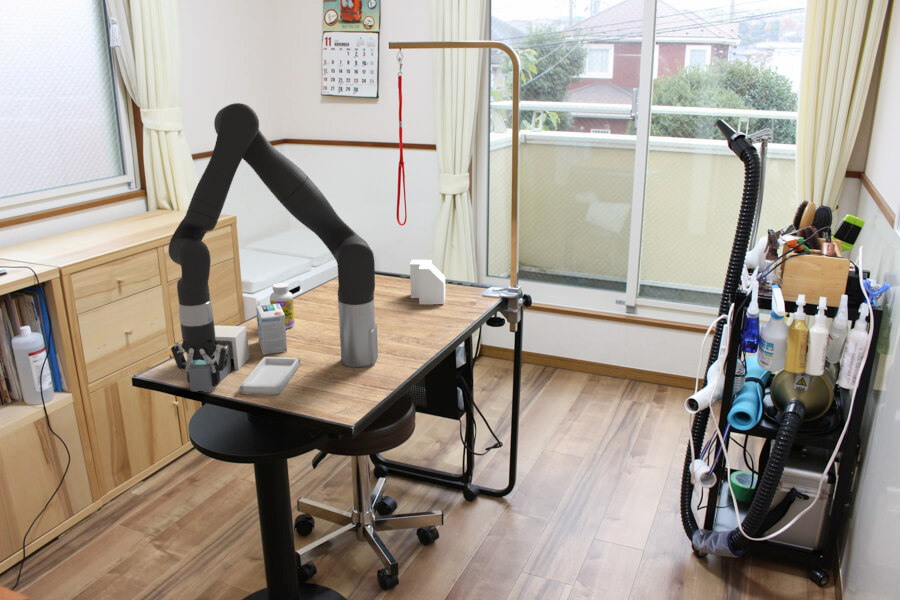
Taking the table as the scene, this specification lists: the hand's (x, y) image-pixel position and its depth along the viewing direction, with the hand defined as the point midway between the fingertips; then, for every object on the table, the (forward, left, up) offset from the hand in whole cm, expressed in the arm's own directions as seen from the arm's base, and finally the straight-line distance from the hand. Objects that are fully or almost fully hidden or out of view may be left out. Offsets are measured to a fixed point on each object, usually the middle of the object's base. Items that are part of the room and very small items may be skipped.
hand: (204, 384), depth 181 cm
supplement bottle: (-6, -44, -1) cm, 44 cm away
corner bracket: (-46, -73, -1) cm, 86 cm away
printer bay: (+2, -15, -1) cm, 16 cm away
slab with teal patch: (0, -4, -1) cm, 4 cm away
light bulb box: (-8, -28, -1) cm, 29 cm away
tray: (-15, -7, -1) cm, 16 cm away
